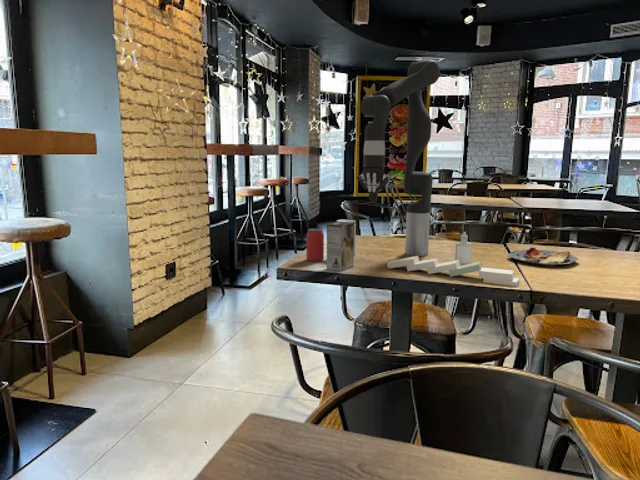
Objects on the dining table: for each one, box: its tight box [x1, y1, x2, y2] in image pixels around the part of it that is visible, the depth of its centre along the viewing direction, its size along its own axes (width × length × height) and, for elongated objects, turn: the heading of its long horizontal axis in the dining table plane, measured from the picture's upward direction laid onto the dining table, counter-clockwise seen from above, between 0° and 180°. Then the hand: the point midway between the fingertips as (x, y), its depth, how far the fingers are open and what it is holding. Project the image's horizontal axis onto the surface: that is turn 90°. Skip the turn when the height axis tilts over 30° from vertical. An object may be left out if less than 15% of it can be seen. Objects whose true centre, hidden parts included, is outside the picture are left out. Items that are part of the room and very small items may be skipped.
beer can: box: [306, 227, 325, 263], centre depth 187 cm, size 7×7×12 cm
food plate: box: [507, 247, 579, 267], centre depth 190 cm, size 25×23×4 cm
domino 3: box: [426, 260, 461, 275], centre depth 168 cm, size 6×2×10 cm
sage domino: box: [448, 261, 483, 278], centre depth 164 cm, size 6×2×10 cm
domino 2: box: [406, 257, 441, 272], centre depth 171 cm, size 6×2×10 cm
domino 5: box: [483, 277, 521, 287], centre depth 158 cm, size 6×2×10 cm
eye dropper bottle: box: [454, 231, 473, 266], centre depth 182 cm, size 4×6×12 cm
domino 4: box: [478, 266, 515, 281], centre depth 159 cm, size 6×2×10 cm
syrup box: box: [336, 218, 357, 257], centre depth 194 cm, size 6×6×14 cm
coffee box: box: [326, 221, 355, 272], centre depth 175 cm, size 9×6×16 cm
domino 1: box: [386, 256, 420, 269], centre depth 175 cm, size 6×2×10 cm
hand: (373, 202), depth 177 cm, fingers closed
